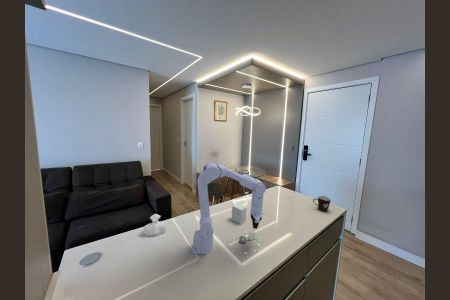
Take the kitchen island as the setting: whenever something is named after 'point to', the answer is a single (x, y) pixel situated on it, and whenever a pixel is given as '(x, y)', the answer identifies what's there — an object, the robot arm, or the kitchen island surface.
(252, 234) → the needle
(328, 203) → the coffee mug
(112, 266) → the kitchen island surface
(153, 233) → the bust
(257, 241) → the dial
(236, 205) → the small box
